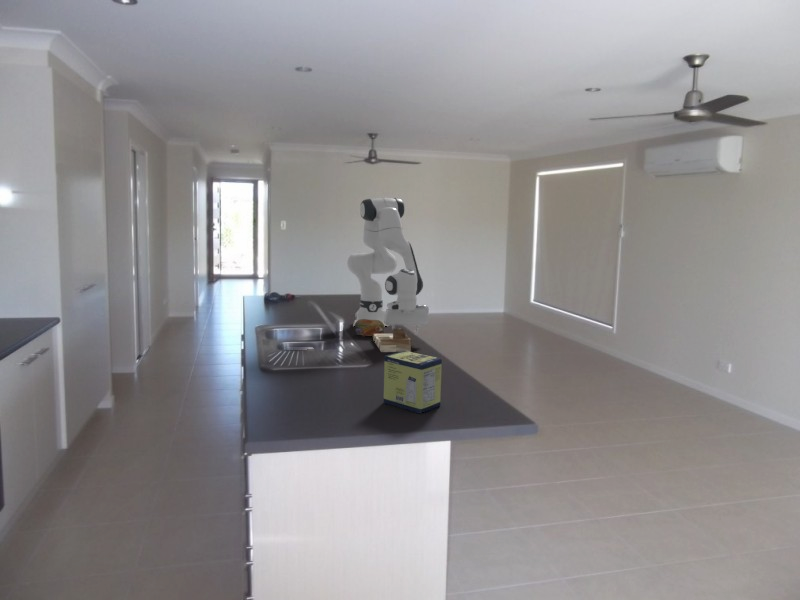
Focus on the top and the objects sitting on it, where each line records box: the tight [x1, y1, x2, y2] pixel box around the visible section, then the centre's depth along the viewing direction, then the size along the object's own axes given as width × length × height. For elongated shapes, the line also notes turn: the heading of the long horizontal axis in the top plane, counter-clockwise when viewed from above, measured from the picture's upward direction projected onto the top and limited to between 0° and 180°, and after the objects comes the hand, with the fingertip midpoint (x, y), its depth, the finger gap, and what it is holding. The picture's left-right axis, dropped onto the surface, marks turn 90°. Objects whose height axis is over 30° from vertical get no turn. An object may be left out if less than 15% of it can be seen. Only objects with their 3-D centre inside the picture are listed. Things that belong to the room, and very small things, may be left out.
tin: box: [353, 319, 386, 338], centre depth 285 cm, size 15×3×8 cm, turn 73°
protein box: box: [383, 351, 443, 414], centre depth 185 cm, size 10×16×16 cm
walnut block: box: [392, 328, 406, 339], centre depth 266 cm, size 4×4×4 cm
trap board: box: [372, 328, 412, 353], centre depth 266 cm, size 24×13×6 cm, turn 11°
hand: (405, 334), depth 270 cm, fingers open, 8 cm apart
